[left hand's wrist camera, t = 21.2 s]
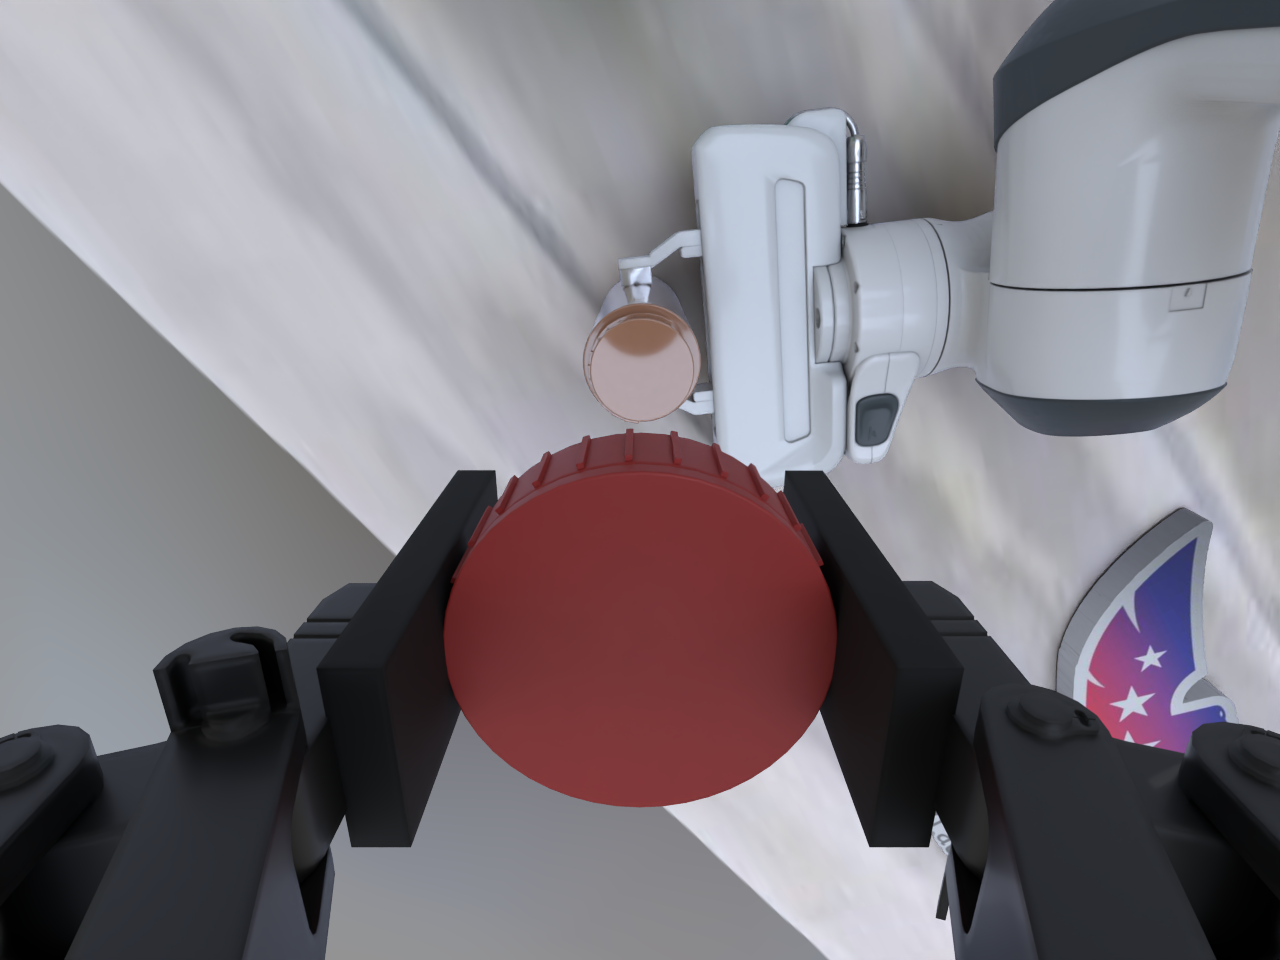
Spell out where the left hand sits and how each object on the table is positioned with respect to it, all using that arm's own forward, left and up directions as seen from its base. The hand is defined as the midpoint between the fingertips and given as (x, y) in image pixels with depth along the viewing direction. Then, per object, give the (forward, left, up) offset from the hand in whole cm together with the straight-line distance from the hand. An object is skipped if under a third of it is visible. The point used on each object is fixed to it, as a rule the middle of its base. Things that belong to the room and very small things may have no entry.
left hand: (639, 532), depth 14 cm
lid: (0, 0, +4) cm, 4 cm away
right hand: (+1, 0, -28) cm, 28 cm away
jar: (0, 0, -34) cm, 34 cm away
